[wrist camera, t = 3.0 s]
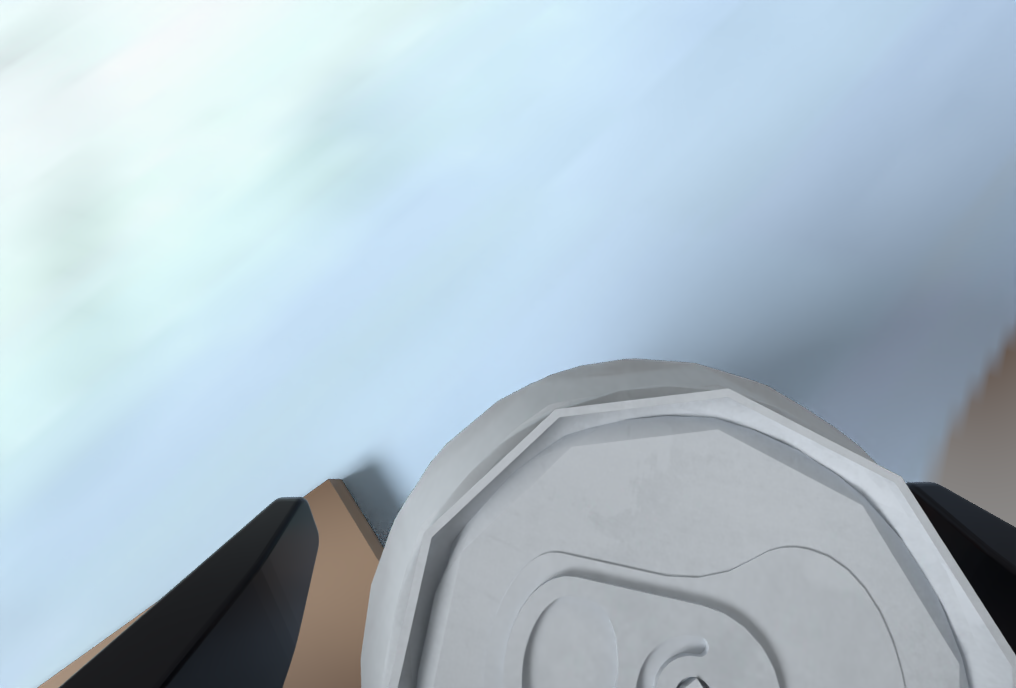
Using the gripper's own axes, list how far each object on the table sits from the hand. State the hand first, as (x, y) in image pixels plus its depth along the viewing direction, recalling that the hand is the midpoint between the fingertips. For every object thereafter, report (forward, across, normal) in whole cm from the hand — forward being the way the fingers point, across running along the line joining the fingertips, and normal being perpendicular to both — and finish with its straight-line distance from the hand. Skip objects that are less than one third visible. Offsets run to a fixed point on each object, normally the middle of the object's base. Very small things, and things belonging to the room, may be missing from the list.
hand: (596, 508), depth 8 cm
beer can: (+4, 0, +6) cm, 7 cm away
